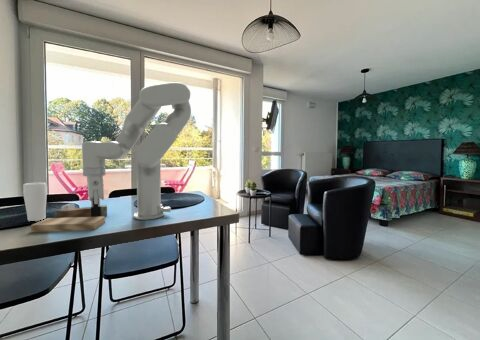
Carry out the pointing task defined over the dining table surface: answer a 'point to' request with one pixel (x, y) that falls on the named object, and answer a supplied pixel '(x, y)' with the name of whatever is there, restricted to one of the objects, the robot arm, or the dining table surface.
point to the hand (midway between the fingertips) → (95, 216)
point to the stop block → (69, 206)
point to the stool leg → (78, 212)
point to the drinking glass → (35, 200)
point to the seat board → (68, 224)
